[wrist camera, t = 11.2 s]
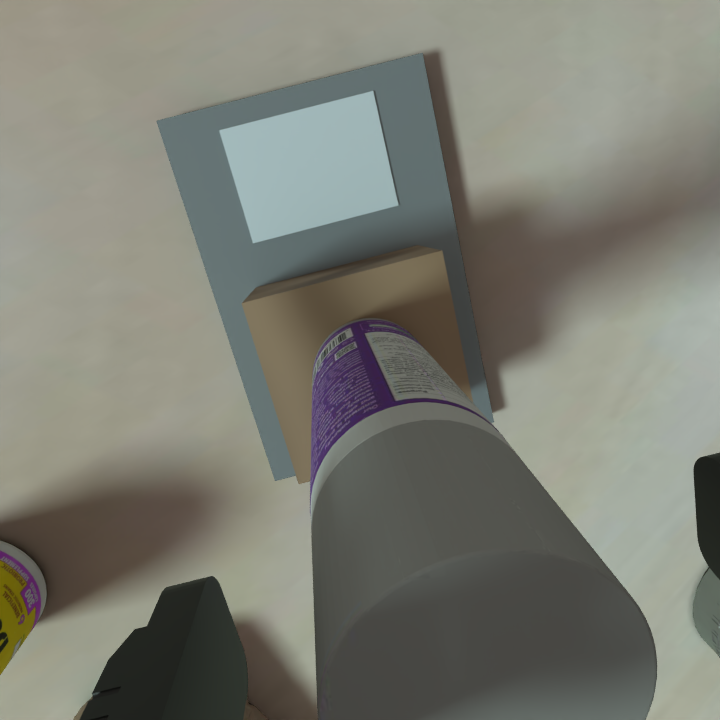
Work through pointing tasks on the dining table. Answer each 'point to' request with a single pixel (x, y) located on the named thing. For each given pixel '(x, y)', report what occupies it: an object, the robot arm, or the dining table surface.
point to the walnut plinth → (337, 307)
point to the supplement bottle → (18, 599)
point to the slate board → (316, 200)
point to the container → (450, 558)
